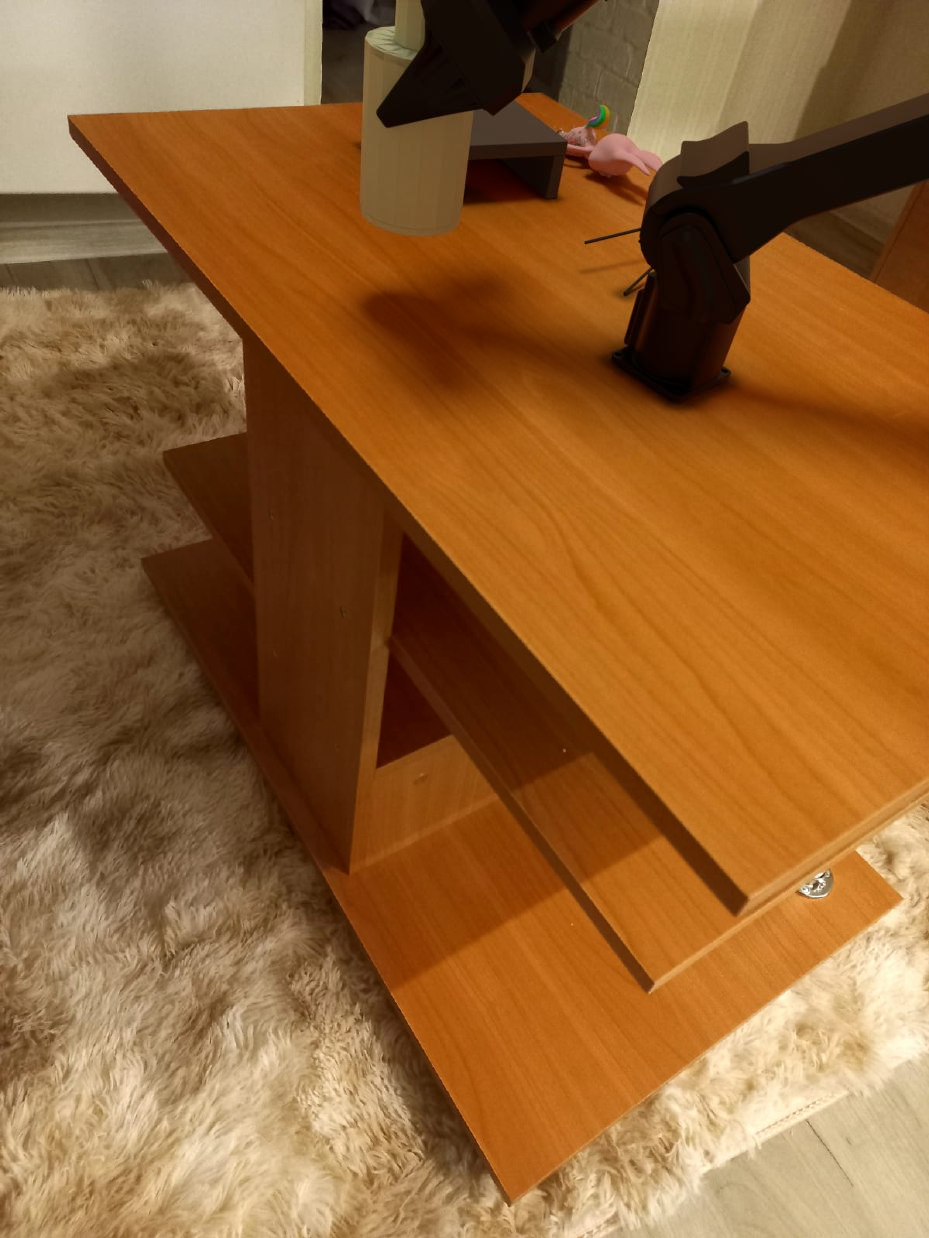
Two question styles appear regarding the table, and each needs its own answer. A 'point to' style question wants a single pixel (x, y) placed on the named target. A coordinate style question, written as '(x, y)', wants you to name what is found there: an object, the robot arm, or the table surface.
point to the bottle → (408, 142)
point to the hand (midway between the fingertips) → (397, 102)
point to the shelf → (520, 146)
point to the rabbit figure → (608, 148)
